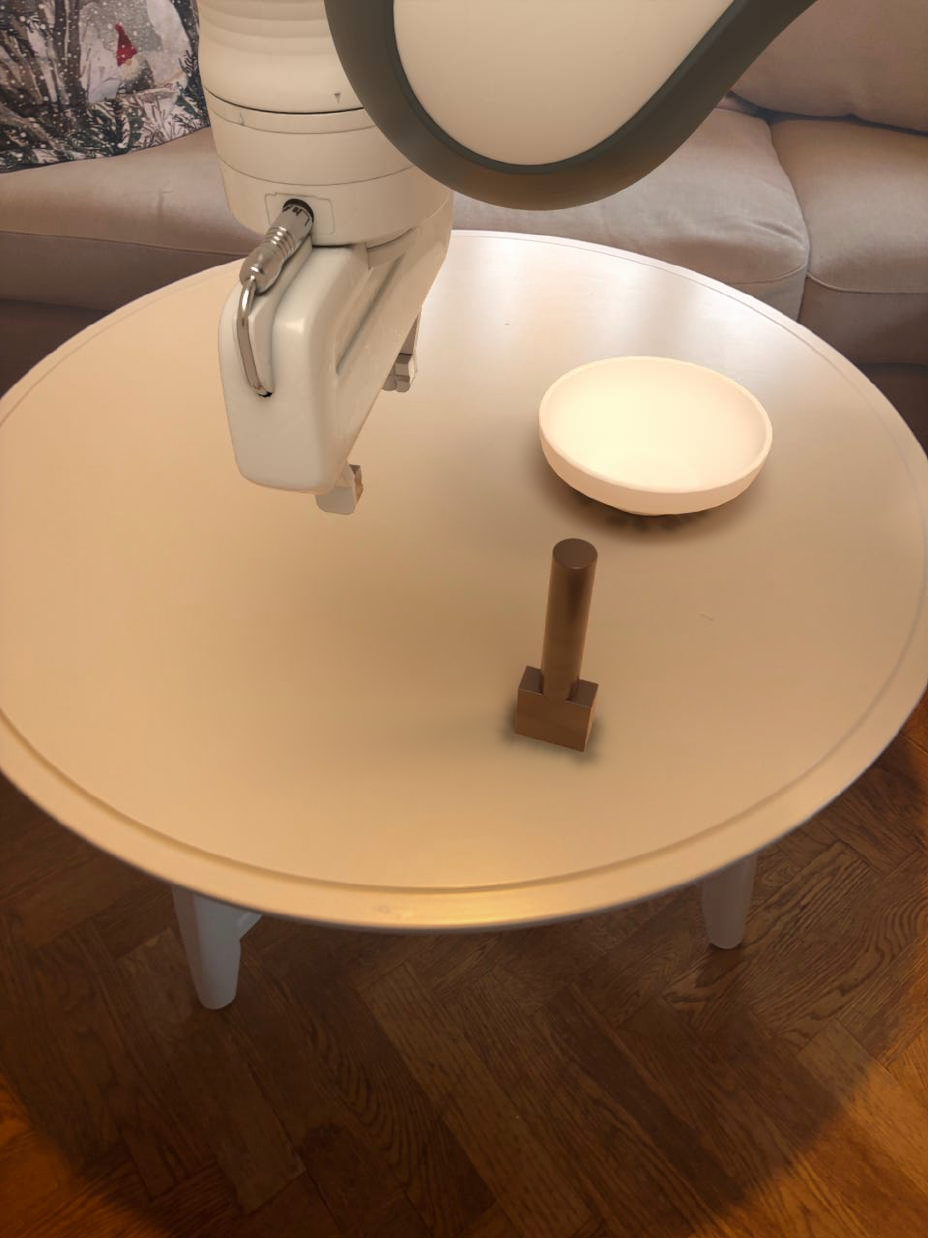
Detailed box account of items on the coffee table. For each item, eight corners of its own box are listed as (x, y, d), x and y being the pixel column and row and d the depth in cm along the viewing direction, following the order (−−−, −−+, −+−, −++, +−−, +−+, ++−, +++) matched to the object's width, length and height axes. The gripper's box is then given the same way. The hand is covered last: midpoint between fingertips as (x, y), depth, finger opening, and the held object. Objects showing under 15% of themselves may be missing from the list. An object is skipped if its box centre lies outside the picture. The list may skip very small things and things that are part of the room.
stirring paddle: (592, 726, 68) (622, 547, 56) (583, 755, 67) (613, 577, 54) (523, 708, 69) (539, 528, 57) (513, 736, 68) (526, 557, 55)
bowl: (585, 399, 96) (593, 334, 91) (780, 458, 90) (800, 392, 84) (495, 512, 84) (498, 444, 79) (712, 589, 78) (731, 521, 73)
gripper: (326, 298, 30) (371, 603, 40) (474, 57, 43) (479, 333, 53) (137, 279, 31) (229, 581, 41) (338, 49, 44) (369, 322, 54)
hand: (371, 439), depth 47 cm, fingers open, 8 cm apart
